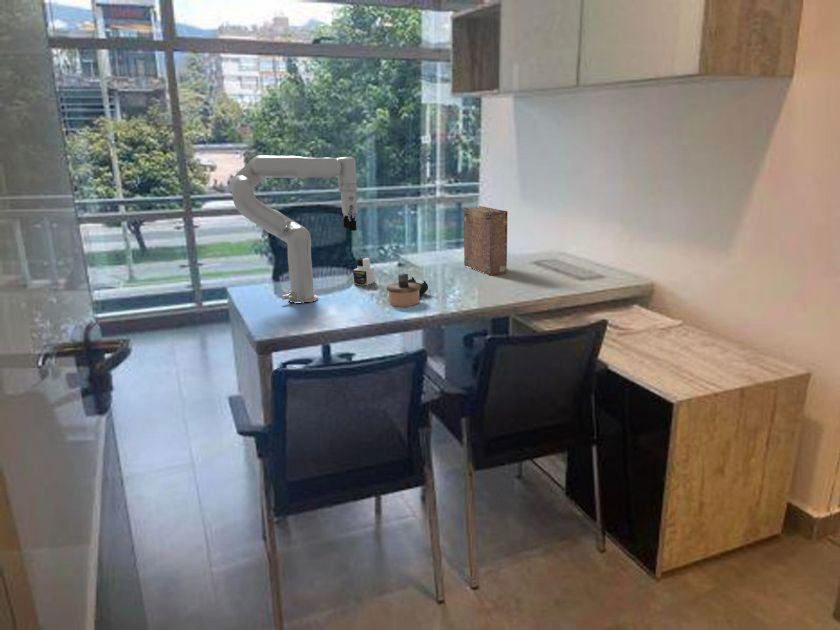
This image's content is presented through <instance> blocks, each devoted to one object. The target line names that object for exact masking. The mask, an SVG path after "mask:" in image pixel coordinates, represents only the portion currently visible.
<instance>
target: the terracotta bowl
mask: <svg viewBox="0 0 840 630" xmlns="http://www.w3.org/2000/svg"><path fill="white" fill-rule="evenodd" d="M388 302H389V304H390V305H391V306H393V307H400V308H402V307H413V306H416V305H418V304H420V296H419V290H418V291H414V292H407V293H396V292H390V291H388Z"/></svg>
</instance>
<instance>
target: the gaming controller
mask: <svg viewBox="0 0 840 630" xmlns="http://www.w3.org/2000/svg"><path fill="white" fill-rule="evenodd" d="M408 283H417V284H419V285H421V289H420V290H419V297H421V296H423V295H424V294H425V293H426V292H427V291H428V290H429V284H428V283H427V282H426V280H423V282H422V283H420V282H418V281H417V282H416V280H415V278H414V277H413V276H411V279H410V278H409V279H408Z"/></svg>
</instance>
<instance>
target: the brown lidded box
mask: <svg viewBox="0 0 840 630" xmlns="http://www.w3.org/2000/svg"><path fill="white" fill-rule="evenodd" d="M508 214H509V213H508V211H507V210H503V209H497V208H493V207H488V206H482V205H479V206H478V207H470V208H469V207H463V247H464V248H463V249H464V251H463V252H464V255H463V256H464V257H463V258H464V259H463V261H464V265H465V266H468V267H471V268H474V269H476V270H479V271H481V272H480V273H482V272H484V273H483V274H485V273H486V274H485V275H487V274H489V275H488V276H495V274H497V275H502V274H501V273H504V274H507V271H508V267H507V265H508V263H507V261H508V255H507V254H508ZM464 265H463V266H464ZM465 266H464V267H465ZM476 270H475V271H476ZM479 271H478V272H479Z"/></svg>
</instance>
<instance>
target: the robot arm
mask: <svg viewBox="0 0 840 630" xmlns="http://www.w3.org/2000/svg"><path fill="white" fill-rule="evenodd" d="M356 168H357V165H356V159H355V158H354V157H351V156H349V157H348V156H343V157H305V156H304V157H303V156H298V155H297V156H296V155H256V156H254V157H252V158H251V160H249V162H247V164H246V165H244V166H243V167H242V168H241V169H240V170H239V171H238V172H237V173H236V174H235V175H234V176H233V177H231V179H230V181H229V189H230V191H231V193H232V201H233V205H234V206H235V208H236V210H237V211H238V212H239V214H241V215H242V216H243V217H245V219H248V220H250V222H253V223H254V224H256V226H259V227H261V228H262V229H263V230H264V231H265V232H267V233H268V234H271V235H273V236H274V237H276V238H278V239H279V240H281V241H283V242H285V243H286V244H287V263H288V264H287V265H288V275H289V285H290V290H288V293H286V294H283V295H281V299H282V300H283V301H284V300H287V301H288V300H289V301H292V302H301V303H302V304H304V303H303V302H310V303H313V301H314V302H316V301H317V300H319V296H318V295H317V294H315V291H314V290H315V288H314V276H313V275H314V274H313V263H312V237H311V234H310V231H309V230H308V229H307V228H306V227H305V226H304V225H301V224H299V223H298V222H296V221H295V220H293V219H291V218H289V217H288V216H286V215H285V214H283V213H282V212H280V211H279V210H277V209H273V208H271V207H270V206H267V204H265V203H264V202H262V201H260V200H259V199H258V198H257V197H256V195H255V187H256V186H257V185H259V183H261V182H262V181H263V180H264V179H303V178H305V179H306V178H335V177H337V183H338V193H340V194H341V195H340V196H341V200H340V201H341V211H342V214H343V217H342V218H343V220H342V221H343V228H345V229H346V228H348V231H349V232H353V231H357V228H358V227H357V218H356V217H357V216H358V215H359V212H358V211H359V209H358V201H357V193H356V192H358V187H357V184H358V183H357V169H356Z"/></svg>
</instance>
